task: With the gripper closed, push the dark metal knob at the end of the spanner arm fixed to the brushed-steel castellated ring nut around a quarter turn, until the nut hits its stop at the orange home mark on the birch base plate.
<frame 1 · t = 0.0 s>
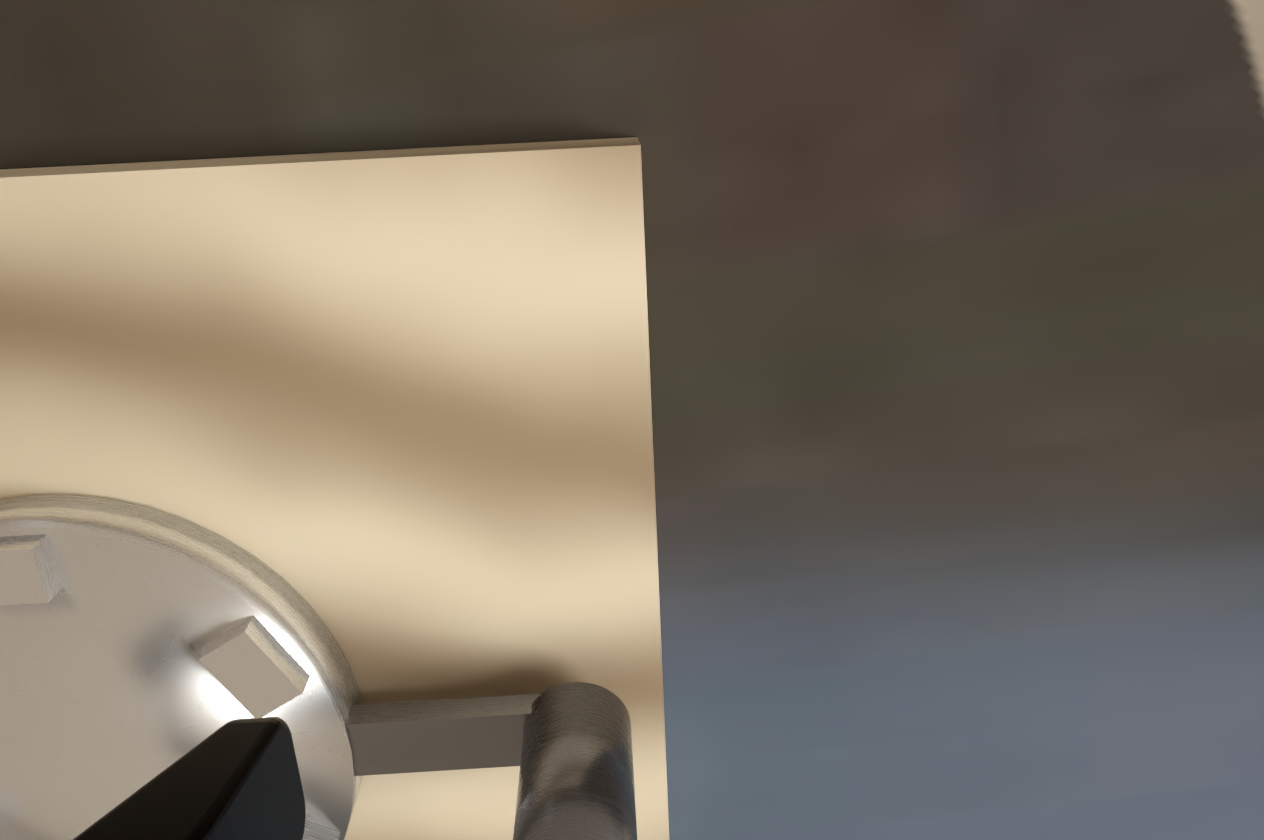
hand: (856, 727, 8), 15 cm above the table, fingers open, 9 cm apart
ring nut: (189, 816, 20), point 5 cm above the table, hinge at 0.0°
base plate: (249, 644, 24), on the table
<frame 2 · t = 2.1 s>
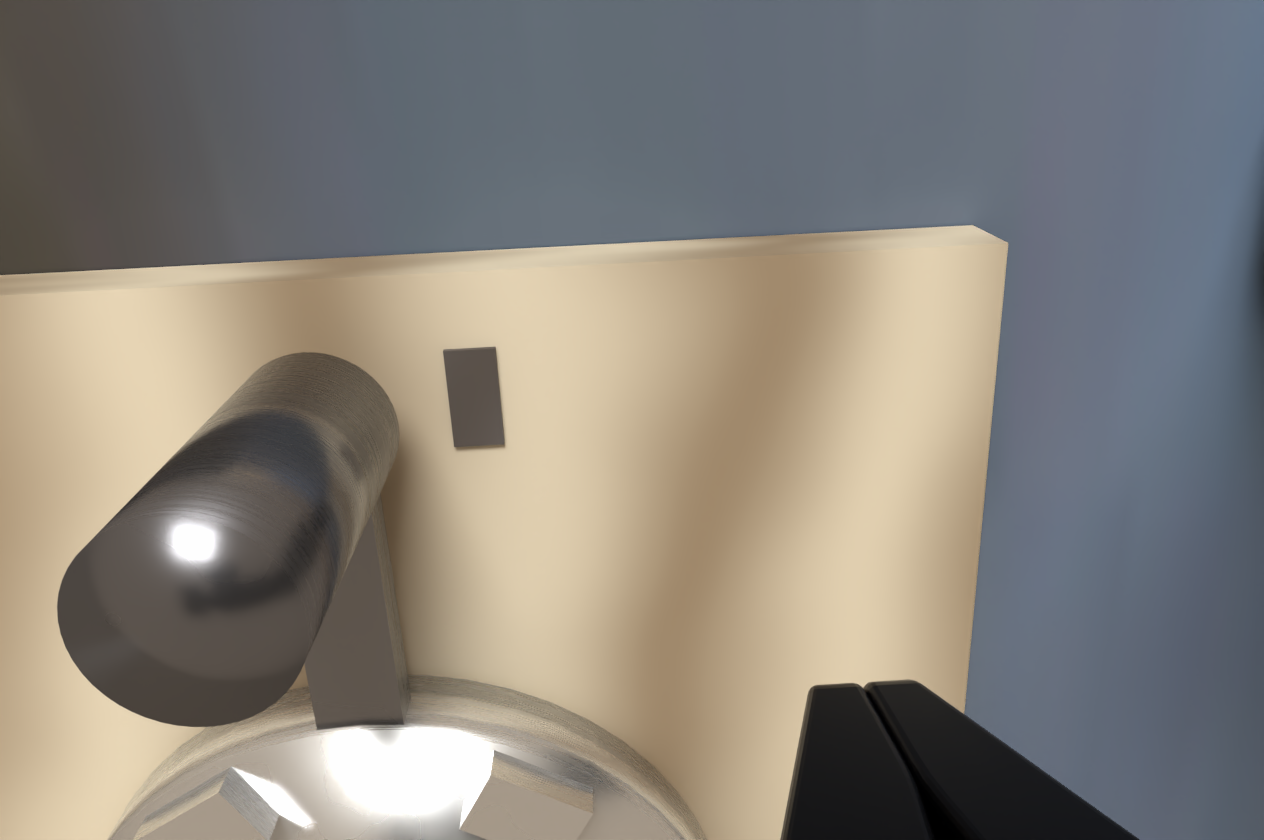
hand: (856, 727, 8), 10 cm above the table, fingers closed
base plate: (362, 756, 20), on the table
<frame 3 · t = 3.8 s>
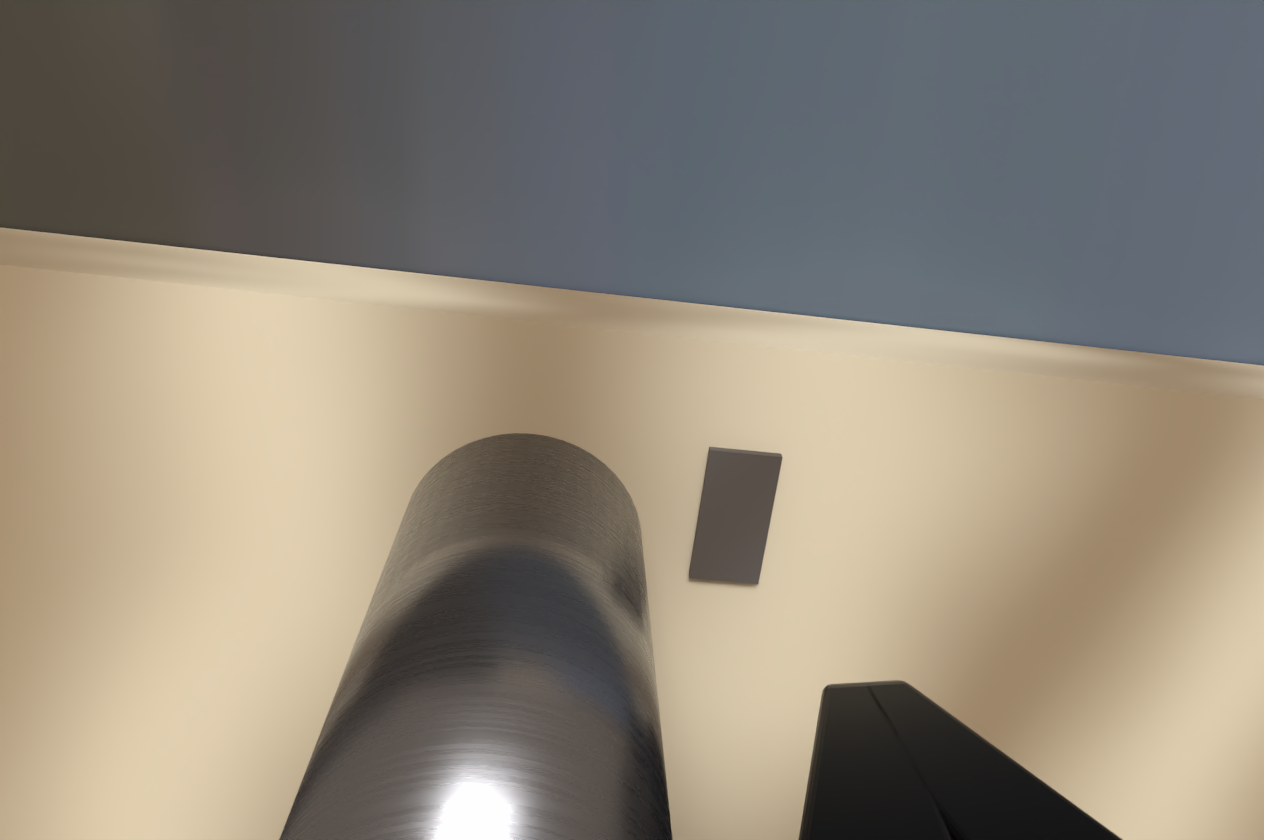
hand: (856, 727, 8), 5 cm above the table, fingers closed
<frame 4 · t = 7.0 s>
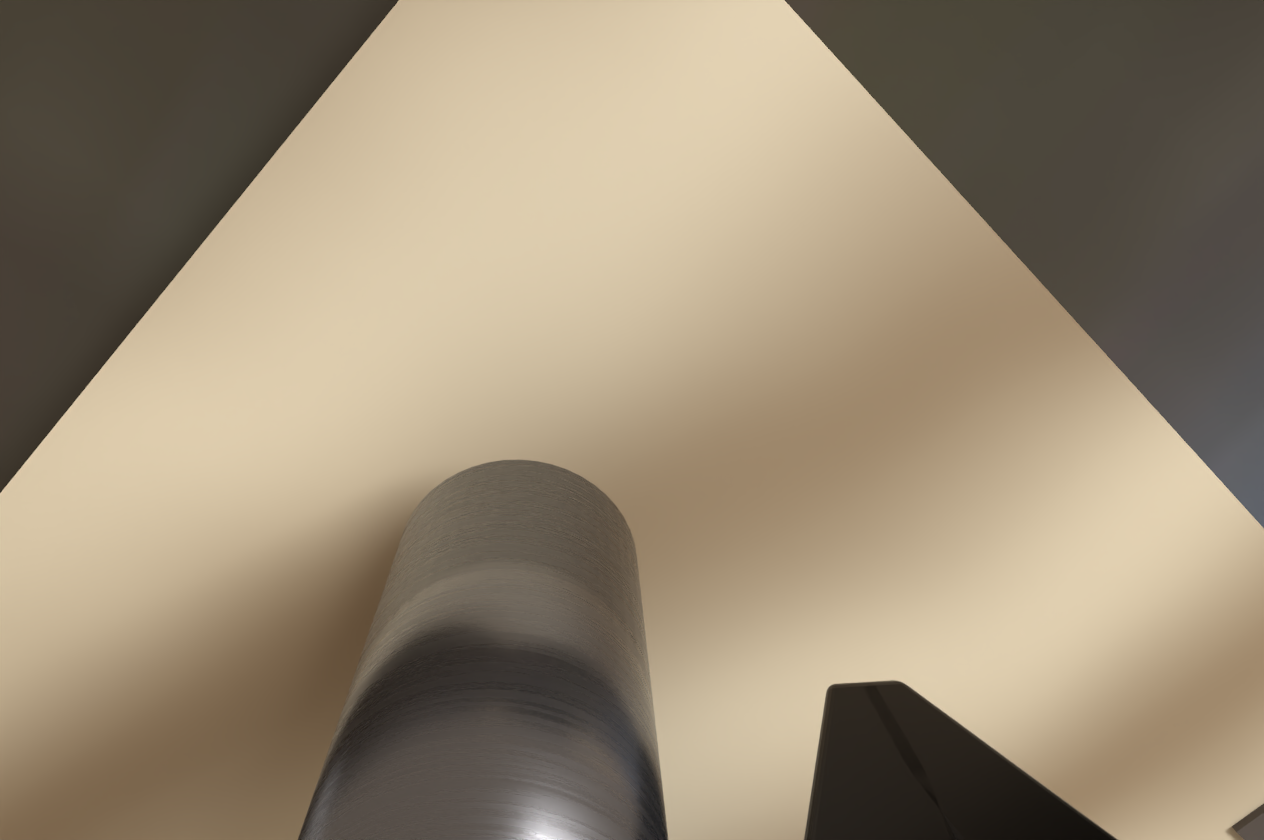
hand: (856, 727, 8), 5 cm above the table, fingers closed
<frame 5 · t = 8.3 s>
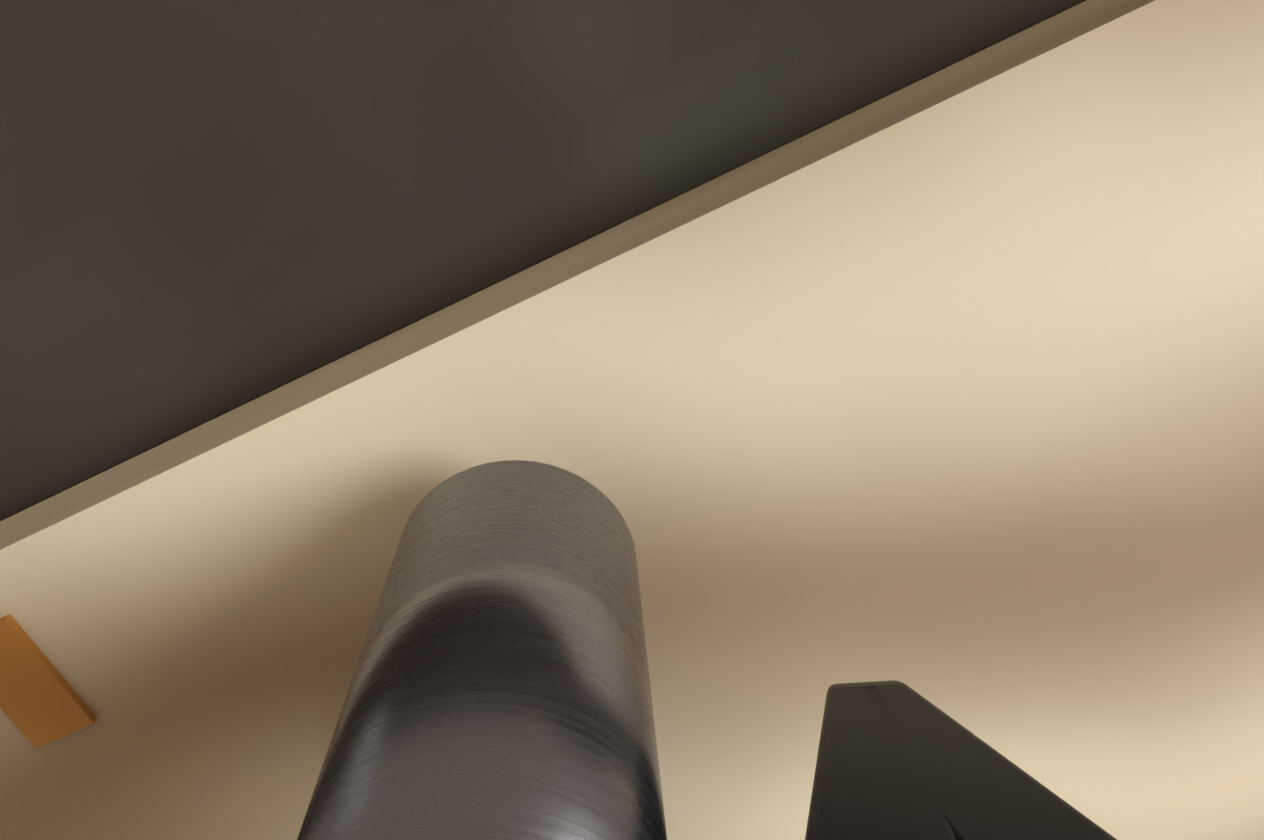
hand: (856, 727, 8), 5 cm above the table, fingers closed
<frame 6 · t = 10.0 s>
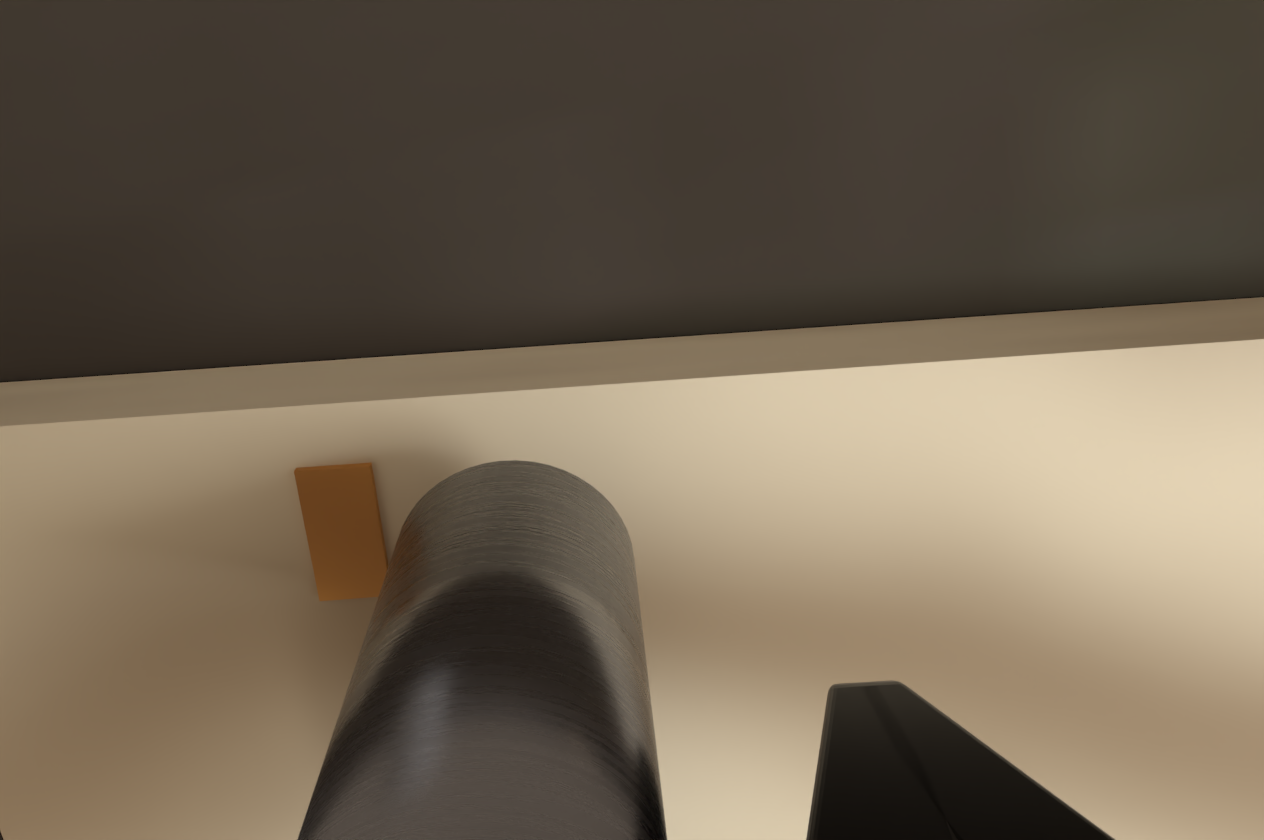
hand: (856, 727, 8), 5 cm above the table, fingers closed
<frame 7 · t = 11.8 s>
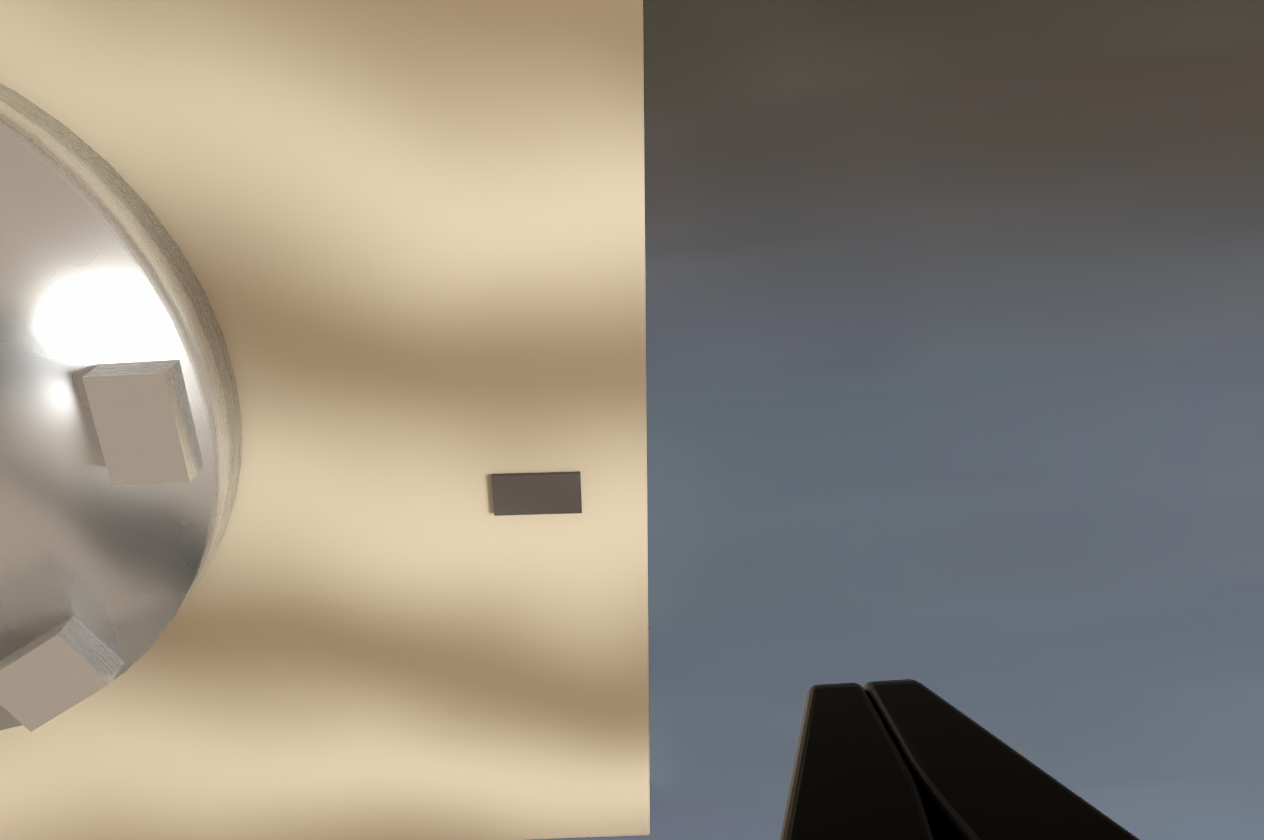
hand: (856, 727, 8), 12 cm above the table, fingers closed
base plate: (90, 309, 18), on the table
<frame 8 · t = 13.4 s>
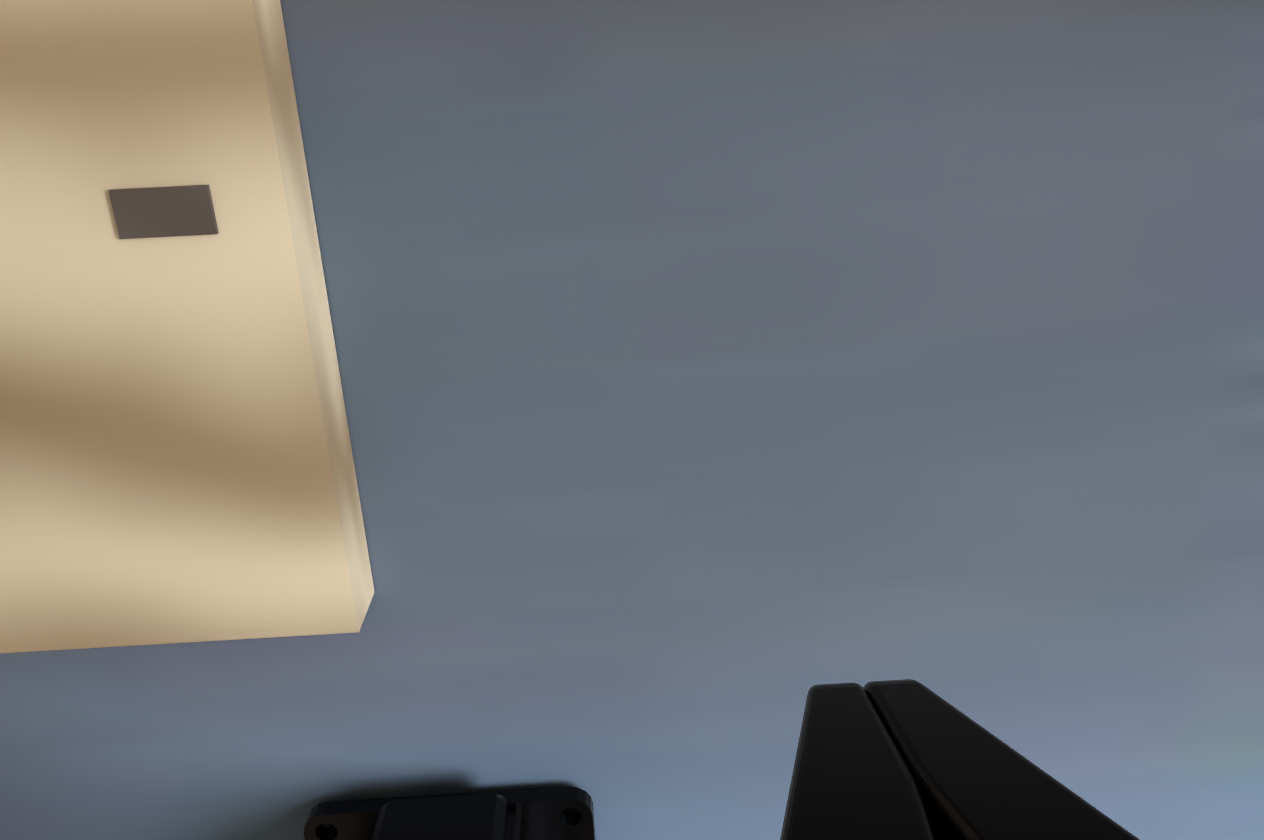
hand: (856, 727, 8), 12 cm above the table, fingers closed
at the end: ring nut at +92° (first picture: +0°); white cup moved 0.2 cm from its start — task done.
